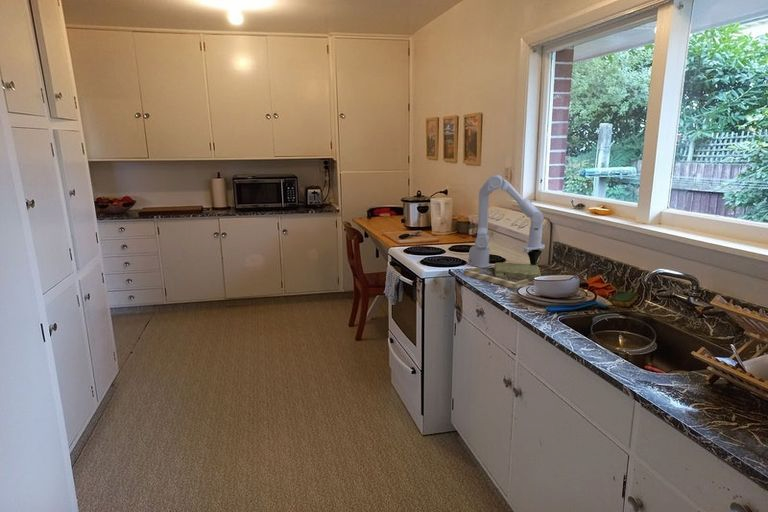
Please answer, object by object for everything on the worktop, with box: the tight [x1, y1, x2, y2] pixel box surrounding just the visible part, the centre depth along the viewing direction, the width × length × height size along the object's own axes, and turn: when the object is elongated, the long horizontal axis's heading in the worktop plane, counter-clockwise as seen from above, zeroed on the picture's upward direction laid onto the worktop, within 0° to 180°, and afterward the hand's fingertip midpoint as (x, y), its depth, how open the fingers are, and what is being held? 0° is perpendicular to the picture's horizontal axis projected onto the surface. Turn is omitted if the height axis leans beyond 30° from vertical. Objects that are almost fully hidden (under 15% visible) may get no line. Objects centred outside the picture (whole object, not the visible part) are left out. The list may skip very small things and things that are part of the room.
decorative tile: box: [493, 262, 542, 281], centre depth 217 cm, size 19×20×4 cm
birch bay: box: [463, 266, 530, 290], centre depth 207 cm, size 27×10×2 cm, turn 40°
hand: (533, 265), depth 225 cm, fingers closed
